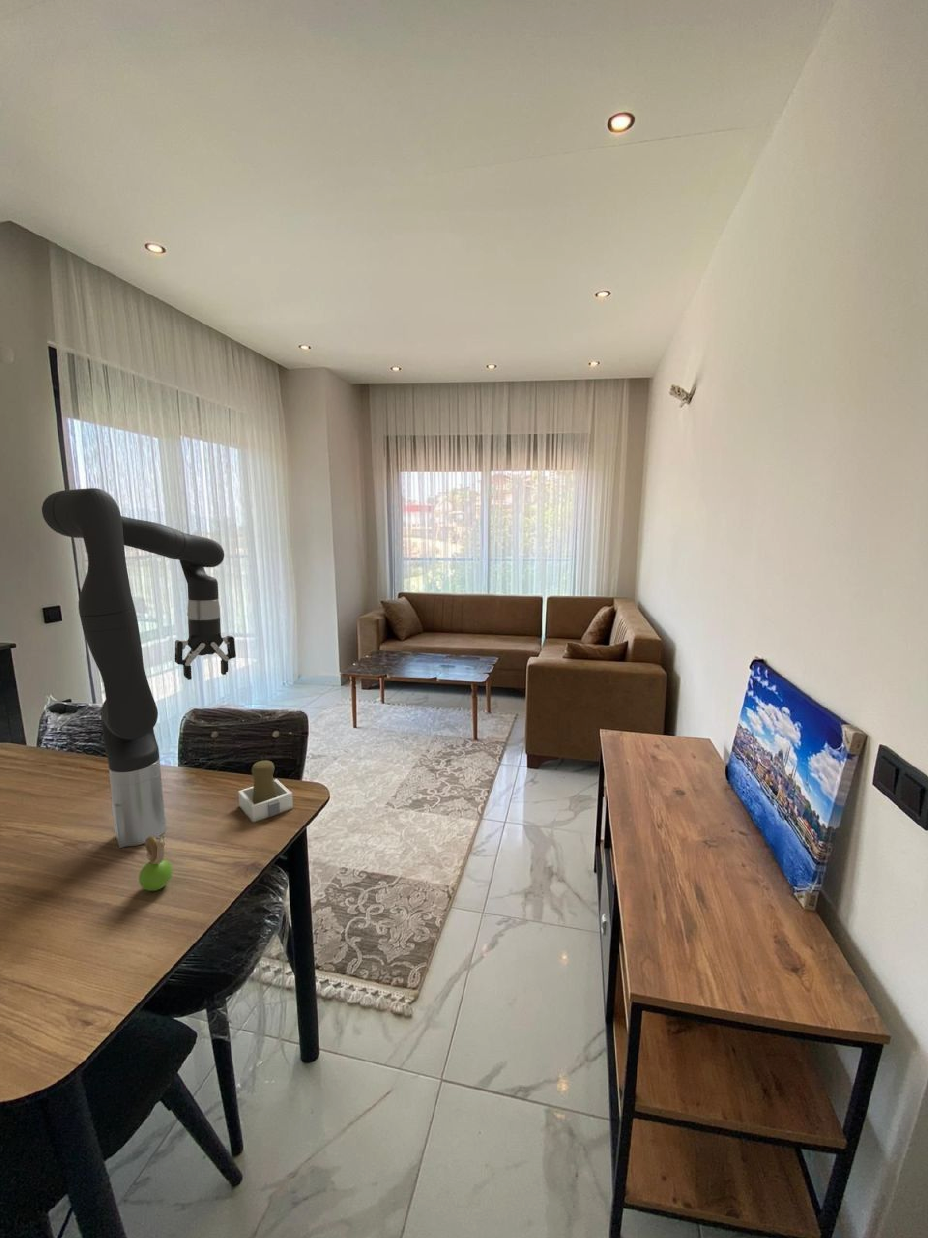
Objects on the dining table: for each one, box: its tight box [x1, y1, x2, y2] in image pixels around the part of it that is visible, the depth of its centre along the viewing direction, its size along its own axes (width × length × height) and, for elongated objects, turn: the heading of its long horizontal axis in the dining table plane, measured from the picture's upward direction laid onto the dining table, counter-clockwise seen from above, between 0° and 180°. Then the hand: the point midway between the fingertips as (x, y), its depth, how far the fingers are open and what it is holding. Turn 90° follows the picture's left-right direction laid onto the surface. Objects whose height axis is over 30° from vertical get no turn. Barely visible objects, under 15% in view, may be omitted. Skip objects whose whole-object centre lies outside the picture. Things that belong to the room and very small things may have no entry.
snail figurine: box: [138, 834, 173, 892], centre depth 92 cm, size 5×6×12 cm
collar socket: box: [237, 778, 294, 823], centre depth 121 cm, size 10×11×4 cm
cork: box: [251, 760, 277, 805], centre depth 121 cm, size 6×6×11 cm
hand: (206, 676), depth 130 cm, fingers open, 8 cm apart
